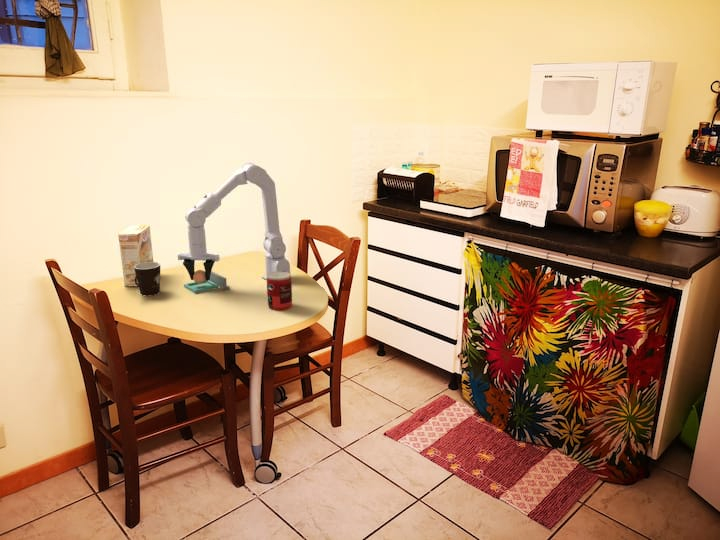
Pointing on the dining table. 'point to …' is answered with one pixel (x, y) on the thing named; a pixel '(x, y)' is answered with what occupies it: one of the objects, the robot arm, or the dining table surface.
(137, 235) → the coffeecake box
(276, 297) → the canned food
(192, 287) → the coaster
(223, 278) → the wall
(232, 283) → the dining table surface
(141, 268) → the coffee mug
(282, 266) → the robot arm
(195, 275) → the ball
